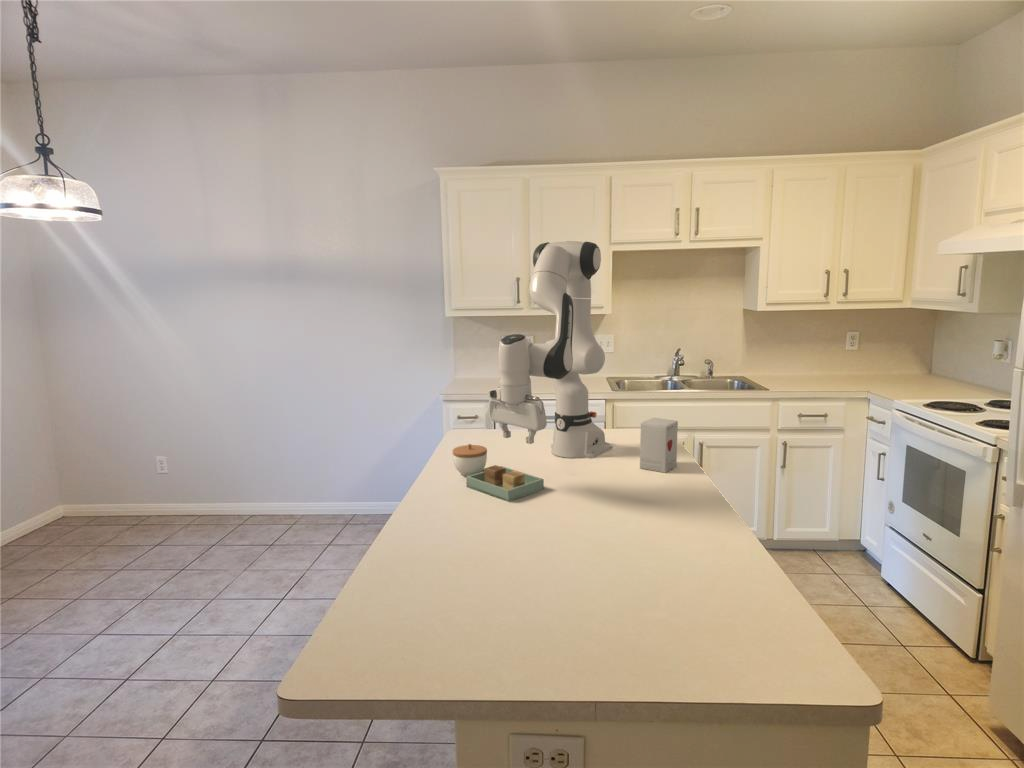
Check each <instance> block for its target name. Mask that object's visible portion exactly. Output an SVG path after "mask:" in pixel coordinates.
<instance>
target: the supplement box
mask: <svg viewBox="0 0 1024 768" xmlns="http://www.w3.org/2000/svg"><path fill="white" fill-rule="evenodd" d="M678 427H679V421H678V420H674V419H666V418H658V417H651V418H649V419H646V420H644V421H641V422H640V439H639V440H640V442H639V445H640V448H639V469H642V470H649V471H654V472H660V473H665V474H666V473H667V472H669V471H670V470H671V471H672V470H673V469H674V468H675V467H677V460H678V458H677V457H678V455H677V454H678V430H679V429H678Z"/></svg>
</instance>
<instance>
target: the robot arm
mask: <svg viewBox="0 0 1024 768" xmlns="http://www.w3.org/2000/svg"><path fill="white" fill-rule="evenodd" d="M601 253H602V252H601V249H600V247H599V246H598V245H597V244H596V243H595V242H592V241H574V240H566V241H555V242H543V243H540V244H539V245H538V246H536V248H535V249H534V251H533V254H532V264H533V271H532V274H531V277H530V278H531V279H530V281H529V286H528V293H529V296H530V298H531V300H532V302H534V303H535V304H536V305H537V306H538V307H539V308H541V309H542V310H544V311H546V312H548V313H549V312H550V313H551V314H554V315H555V317H556V321H555V333H554V334H555V335H554V338H553V339H550V340H547V341H546V342H545V343H542V342H541V343H540V342H531V341H529V340H528V339H527V336H525V334H520V333H518V334H516V333H514V334H510V335H509V334H508V335H506V336H503V337H501V339H500V340H499V342H498V343H499V344H498V354H497V355H498V356H497V357H498V358H497V359H498V363H497V365H498V371H499V374H500V379H499V386H498V387H495V388H492V389H489V390H488V391H487V396H488V398H489V399H488V416H489V418H490V420H491V421H492V422H498V424H499V427H500V430H501V431H502V437H503V438H506V439H509V438H511V437H512V433H511V432H512V431H511V430H509V428H508V425H510V426H515V427H519V428H523V429H527V432H528V436H526V437H525V443H526V444H528V445H529V444H530V445H532V444H534V443H535V436H536V434H537V432H538V431H542V430H544V429H546V427H547V425H548V424H547V416H546V410H545V407H544V406H545V405H544V401H542V400H541V398H540V397H539V396H533V395H532V394H533V393H532V380H531V377H535V378H536V377H538V378H539V377H540V378H548V379H552V382H553V386H554V393H555V412H554V424H555V425H554V427H553V438H552V444H551V445H550V448H551V454H552V455H555V456H557V457H562V458H569V459H570V458H572V459H573V458H595V457H597V456H599V455H601V454H603V453H605V452H607V451H608V450H611V449H612V448H613V446H612V444H611V443H608V442H606V436H605V432H604V430H603V429H602V428H601V427H599V426H598V425H597V424H595V423H594V422H593V420H592V419H593V418H594V419H595V418H596V417H597V416H598V415H597V411H589V389H588V388H587V386H586V385H585V384H584V382H583V381H582V379H581V378H580V377H581V376H580V375H592V374H593V375H594V374H597V373H599V372H600V371H601V370H602V368H603V367H604V365H605V360H606V355H605V351H604V349H603V347H602V346H601V345H600V344H599V343H598V341H597V340H596V337H595V333H594V332H593V327H592V319H591V315H592V311H591V310H592V309H591V307H592V281H591V279H592V277H593V276H594V275H596V273H597V272H598V271H599V269H600V268H601V267H600V266H601V263H602V254H601Z"/></svg>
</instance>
